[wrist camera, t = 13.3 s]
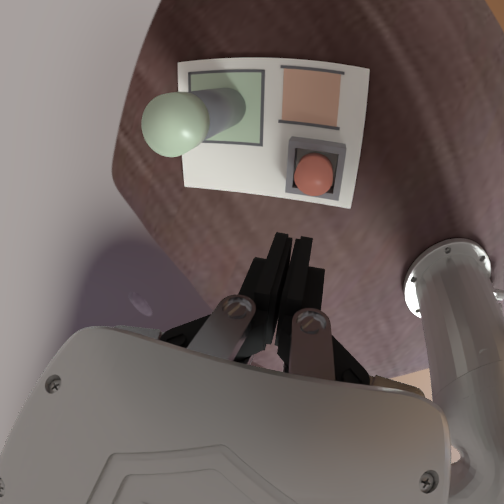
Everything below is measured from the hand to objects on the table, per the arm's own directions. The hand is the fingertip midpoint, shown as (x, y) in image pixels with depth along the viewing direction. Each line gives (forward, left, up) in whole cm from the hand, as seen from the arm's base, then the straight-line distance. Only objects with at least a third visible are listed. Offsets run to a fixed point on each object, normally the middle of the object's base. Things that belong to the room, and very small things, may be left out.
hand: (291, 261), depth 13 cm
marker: (+9, -5, -15) cm, 18 cm away
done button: (0, 0, -14) cm, 14 cm away
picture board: (+5, -3, -16) cm, 17 cm away
